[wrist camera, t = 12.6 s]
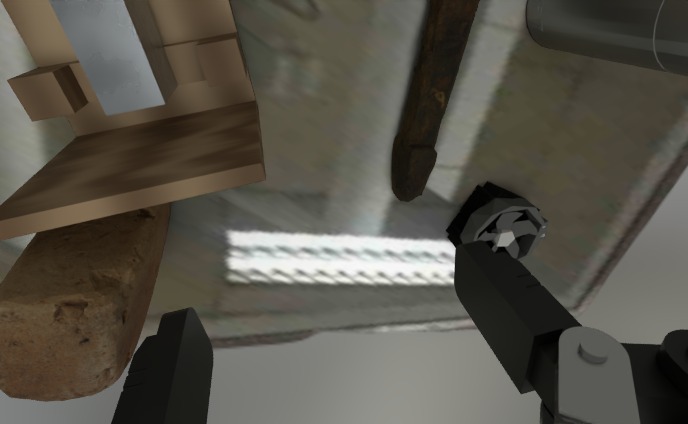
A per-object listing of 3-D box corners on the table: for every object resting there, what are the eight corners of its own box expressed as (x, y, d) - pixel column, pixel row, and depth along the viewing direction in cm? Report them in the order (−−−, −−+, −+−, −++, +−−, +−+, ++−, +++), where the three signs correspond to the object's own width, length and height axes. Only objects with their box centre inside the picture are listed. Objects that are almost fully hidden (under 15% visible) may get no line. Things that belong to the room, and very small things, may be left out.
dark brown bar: (428, -36, 34) (457, -39, 29) (473, -22, 35) (507, -23, 30) (366, 186, 44) (381, 210, 40) (403, 190, 46) (420, 213, 41)
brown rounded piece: (92, 153, 35) (-44, 303, 19) (178, 166, 38) (125, 310, 21) (94, 245, 40) (-13, 430, 23) (170, 252, 42) (122, 423, 26)
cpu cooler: (455, 261, 46) (506, 194, 42) (436, 236, 51) (479, 173, 47) (512, 280, 50) (562, 219, 46) (489, 254, 55) (533, 198, 51)
